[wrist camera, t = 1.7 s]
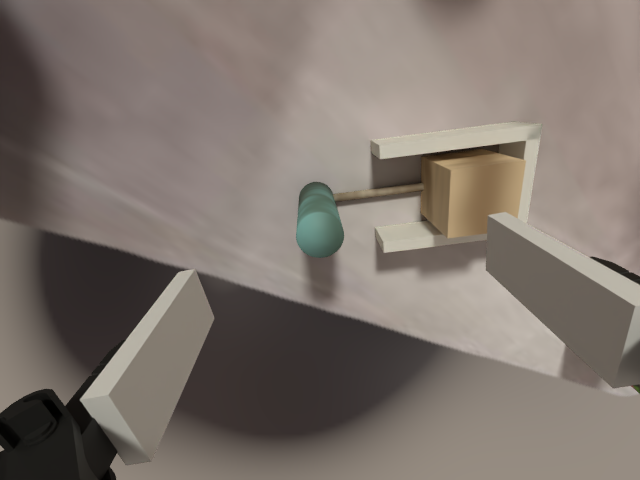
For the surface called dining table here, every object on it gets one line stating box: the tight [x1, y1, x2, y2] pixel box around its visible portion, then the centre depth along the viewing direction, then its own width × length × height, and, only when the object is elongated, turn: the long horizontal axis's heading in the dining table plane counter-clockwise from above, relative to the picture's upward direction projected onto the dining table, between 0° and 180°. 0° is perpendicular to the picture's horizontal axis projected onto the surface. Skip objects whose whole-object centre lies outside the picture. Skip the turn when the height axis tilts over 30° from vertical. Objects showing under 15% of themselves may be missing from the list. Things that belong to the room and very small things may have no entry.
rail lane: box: [371, 122, 542, 253], centre depth 31 cm, size 14×10×4 cm
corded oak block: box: [296, 149, 526, 258], centre depth 28 cm, size 19×6×10 cm, turn 97°
